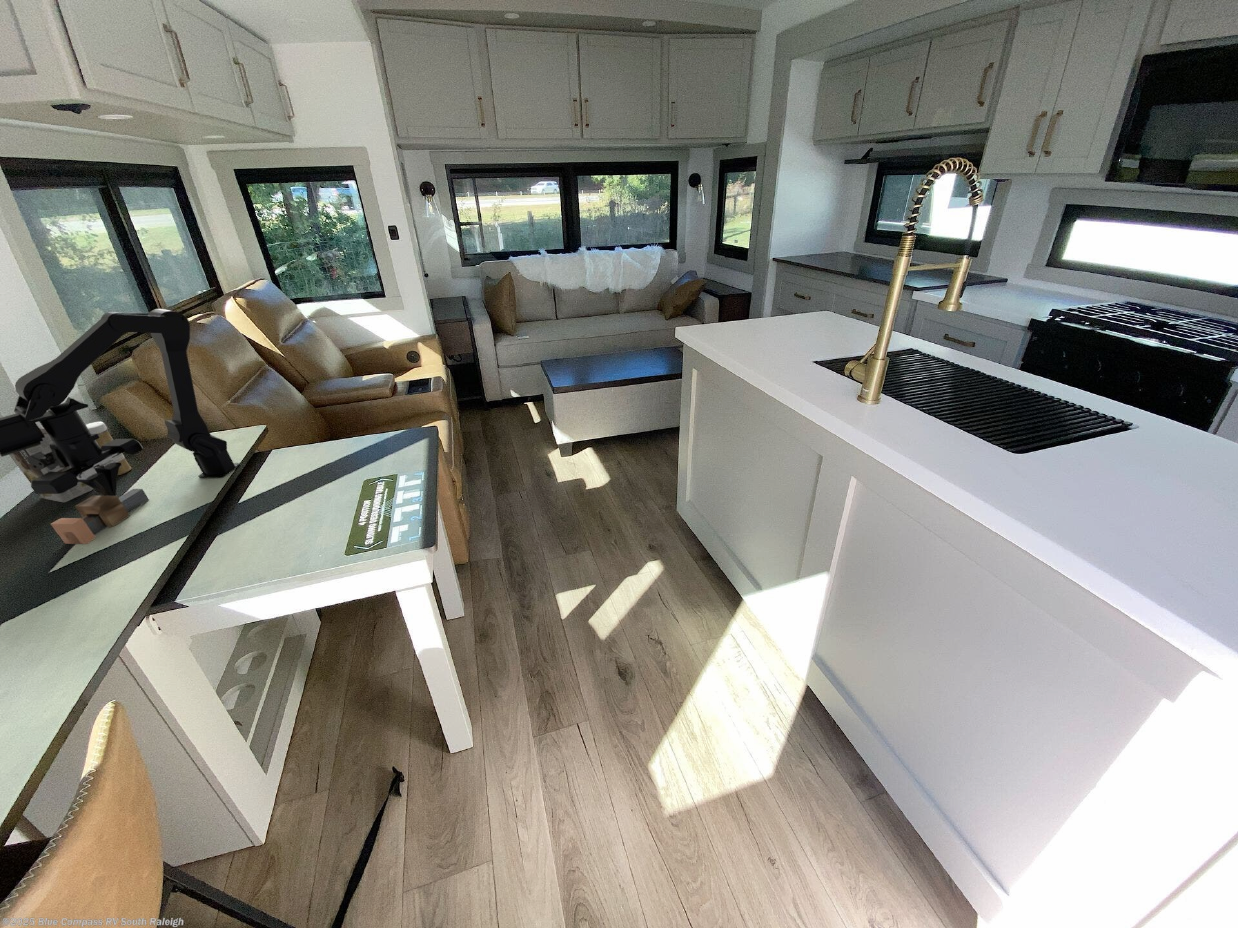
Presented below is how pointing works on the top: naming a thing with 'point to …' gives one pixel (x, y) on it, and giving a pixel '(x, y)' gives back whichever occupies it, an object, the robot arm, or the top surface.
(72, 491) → the coffee box
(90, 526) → the rail
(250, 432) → the top surface
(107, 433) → the sprinkles bottle
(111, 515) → the block
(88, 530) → the pink notched end block
